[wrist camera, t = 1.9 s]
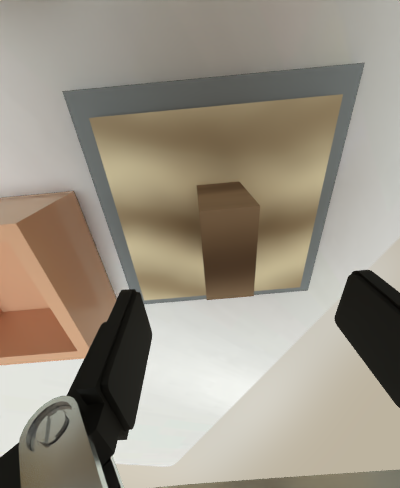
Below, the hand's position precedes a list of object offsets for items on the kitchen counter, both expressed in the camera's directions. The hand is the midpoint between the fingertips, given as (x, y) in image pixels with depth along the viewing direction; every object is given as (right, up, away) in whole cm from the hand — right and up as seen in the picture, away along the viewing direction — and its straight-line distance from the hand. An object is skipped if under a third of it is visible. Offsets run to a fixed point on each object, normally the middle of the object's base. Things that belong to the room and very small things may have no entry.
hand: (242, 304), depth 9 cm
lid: (-1, +5, +7) cm, 9 cm away
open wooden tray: (-17, +1, +9) cm, 20 cm away
